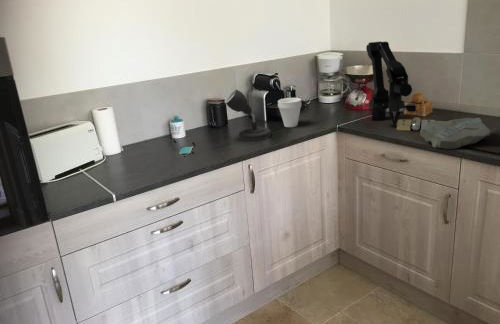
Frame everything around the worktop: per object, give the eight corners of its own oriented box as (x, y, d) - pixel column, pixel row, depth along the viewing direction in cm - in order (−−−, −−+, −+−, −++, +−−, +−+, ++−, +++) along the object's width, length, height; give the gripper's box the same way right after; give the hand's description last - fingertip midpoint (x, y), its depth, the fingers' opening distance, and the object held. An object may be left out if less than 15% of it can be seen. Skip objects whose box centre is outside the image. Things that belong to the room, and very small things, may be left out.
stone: (436, 140, 168) (413, 121, 185) (434, 159, 171) (412, 138, 189) (505, 129, 169) (475, 111, 186) (502, 147, 172) (473, 128, 190)
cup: (286, 129, 220) (284, 103, 215) (275, 125, 231) (273, 100, 226) (306, 125, 224) (305, 99, 220) (295, 121, 235) (293, 96, 231)
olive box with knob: (396, 130, 202) (396, 122, 201) (398, 124, 212) (398, 117, 211) (419, 130, 198) (420, 123, 197) (420, 124, 208) (420, 117, 207)
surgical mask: (171, 139, 207) (192, 135, 210) (173, 147, 208) (193, 144, 211) (180, 150, 188) (202, 145, 191) (181, 159, 190) (203, 155, 193)
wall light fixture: (222, 89, 211) (262, 82, 213) (230, 137, 220) (268, 130, 221) (224, 94, 197) (267, 87, 198) (232, 145, 205) (273, 138, 206)
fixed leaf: (411, 130, 200) (411, 123, 199) (412, 124, 209) (412, 117, 208) (434, 131, 196) (435, 123, 195) (434, 124, 205) (435, 117, 204)
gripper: (372, 96, 199) (372, 129, 204) (416, 96, 192) (414, 129, 197) (375, 91, 208) (375, 123, 213) (416, 91, 201) (415, 123, 206)
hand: (394, 125), depth 207 cm, fingers closed
